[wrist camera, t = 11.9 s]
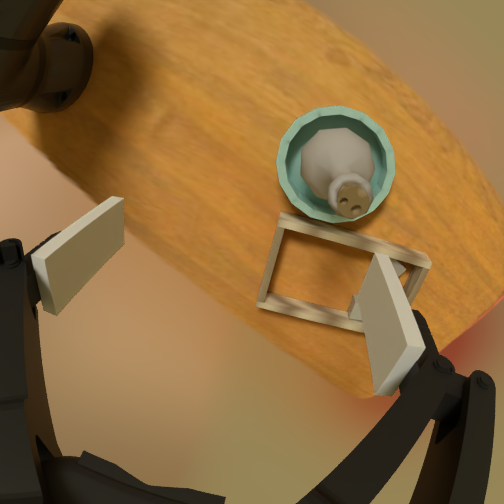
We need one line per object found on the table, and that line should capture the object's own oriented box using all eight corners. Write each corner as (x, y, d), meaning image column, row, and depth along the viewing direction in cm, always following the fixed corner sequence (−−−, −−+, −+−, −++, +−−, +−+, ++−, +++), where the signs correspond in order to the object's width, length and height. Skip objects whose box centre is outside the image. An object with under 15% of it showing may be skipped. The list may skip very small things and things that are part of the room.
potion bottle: (323, 112, 36) (336, 120, 20) (382, 153, 37) (433, 193, 21) (285, 169, 40) (270, 220, 24) (343, 207, 41) (363, 279, 25)
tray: (258, 295, 50) (255, 306, 47) (280, 211, 43) (278, 219, 40) (388, 326, 48) (391, 338, 46) (425, 253, 42) (432, 263, 39)
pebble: (375, 259, 44) (378, 267, 42) (387, 247, 43) (390, 255, 41) (391, 273, 44) (394, 281, 43) (402, 262, 43) (406, 269, 41)
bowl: (268, 196, 42) (265, 205, 39) (293, 93, 36) (292, 92, 33) (368, 224, 42) (373, 235, 39) (400, 126, 35) (408, 128, 32)
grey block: (347, 308, 48) (349, 318, 46) (353, 292, 47) (355, 302, 45) (371, 312, 48) (373, 322, 46) (377, 297, 47) (380, 307, 44)
